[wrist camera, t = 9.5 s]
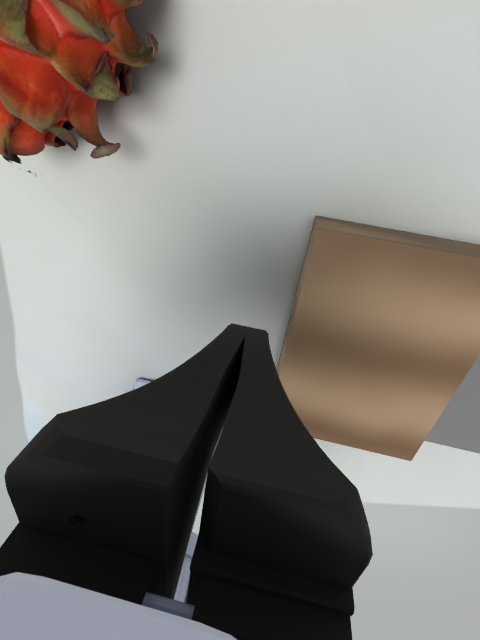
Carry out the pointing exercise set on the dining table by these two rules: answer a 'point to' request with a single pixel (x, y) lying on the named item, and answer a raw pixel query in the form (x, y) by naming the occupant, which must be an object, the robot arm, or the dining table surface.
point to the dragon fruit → (63, 71)
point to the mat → (461, 415)
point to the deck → (380, 334)
